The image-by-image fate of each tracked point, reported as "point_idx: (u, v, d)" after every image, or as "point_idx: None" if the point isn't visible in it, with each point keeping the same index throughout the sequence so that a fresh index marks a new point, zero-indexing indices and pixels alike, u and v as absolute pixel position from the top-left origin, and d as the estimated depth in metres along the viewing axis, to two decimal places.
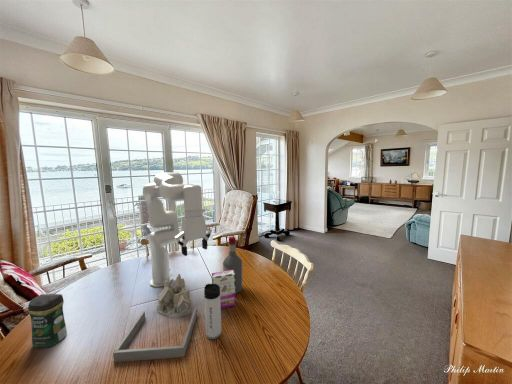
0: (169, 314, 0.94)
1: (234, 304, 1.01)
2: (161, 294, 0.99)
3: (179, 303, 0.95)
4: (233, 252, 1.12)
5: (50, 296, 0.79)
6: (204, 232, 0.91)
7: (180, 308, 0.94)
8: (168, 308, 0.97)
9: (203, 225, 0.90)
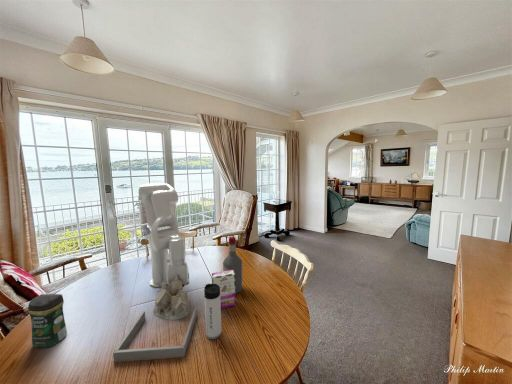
0: (166, 317, 0.93)
1: (234, 304, 1.01)
2: (158, 297, 0.98)
3: (177, 305, 0.93)
4: (233, 252, 1.12)
5: (50, 296, 0.79)
6: None
7: (178, 310, 0.92)
8: (165, 310, 0.95)
9: None
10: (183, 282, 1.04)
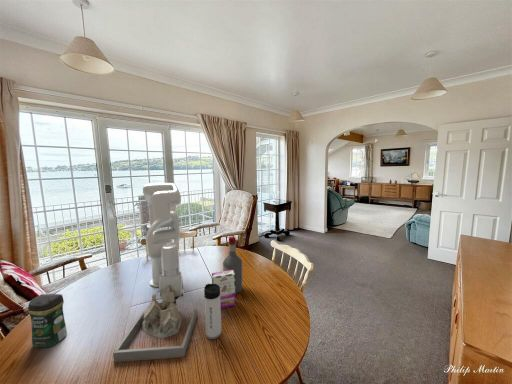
0: (154, 334, 0.83)
1: (234, 304, 1.01)
2: (147, 310, 0.88)
3: (165, 321, 0.83)
4: (233, 252, 1.12)
5: (50, 296, 0.79)
6: None
7: (166, 327, 0.82)
8: (154, 326, 0.86)
9: None
10: (177, 294, 0.94)
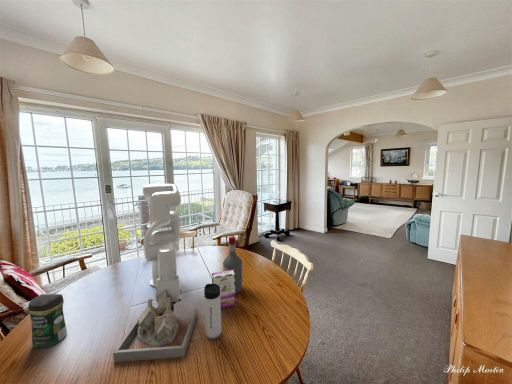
0: (148, 341, 0.79)
1: (234, 304, 1.01)
2: (142, 315, 0.85)
3: (159, 329, 0.79)
4: (233, 252, 1.12)
5: (50, 296, 0.79)
6: None
7: (160, 336, 0.78)
8: (148, 333, 0.82)
9: None
10: (174, 299, 0.90)
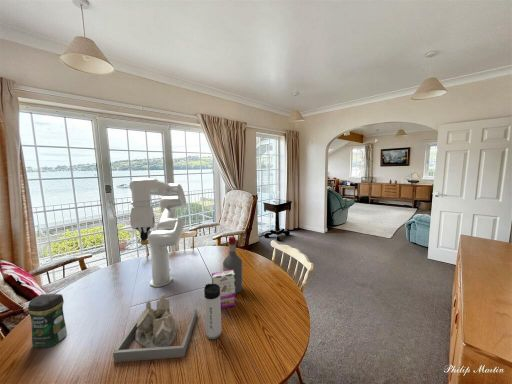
0: (146, 344, 0.78)
1: (234, 304, 1.01)
2: (141, 318, 0.83)
3: (158, 332, 0.77)
4: (233, 252, 1.12)
5: (50, 296, 0.79)
6: None
7: (158, 339, 0.76)
8: (147, 336, 0.80)
9: None
10: (147, 224, 1.01)
